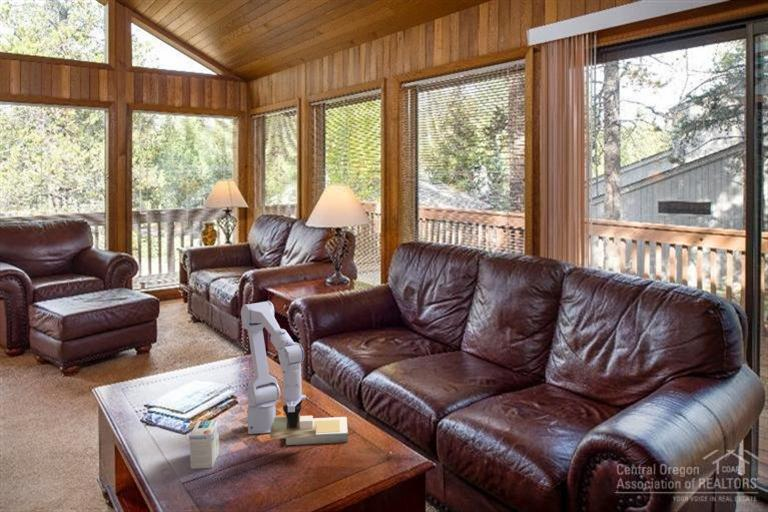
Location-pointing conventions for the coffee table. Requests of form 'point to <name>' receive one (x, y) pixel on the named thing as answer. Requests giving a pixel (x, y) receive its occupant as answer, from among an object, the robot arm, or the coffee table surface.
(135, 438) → the coffee table surface
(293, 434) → the tan stepped block
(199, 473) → the coffee table surface
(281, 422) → the block
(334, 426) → the dock
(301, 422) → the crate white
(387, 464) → the coffee table surface
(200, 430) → the light bulb box
